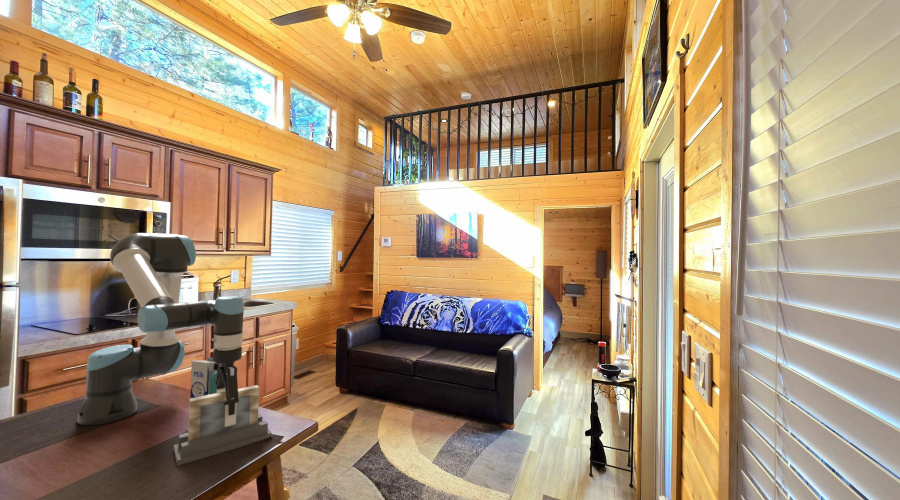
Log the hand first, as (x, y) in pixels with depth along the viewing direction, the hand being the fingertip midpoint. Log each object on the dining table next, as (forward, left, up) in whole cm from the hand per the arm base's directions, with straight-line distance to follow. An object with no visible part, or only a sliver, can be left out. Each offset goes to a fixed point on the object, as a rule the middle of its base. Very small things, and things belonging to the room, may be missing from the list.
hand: (225, 416), depth 110 cm
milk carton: (-22, -14, -8) cm, 27 cm away
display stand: (0, 0, -8) cm, 8 cm away
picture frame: (0, 0, -7) cm, 7 cm away
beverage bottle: (-17, -8, -8) cm, 21 cm away
